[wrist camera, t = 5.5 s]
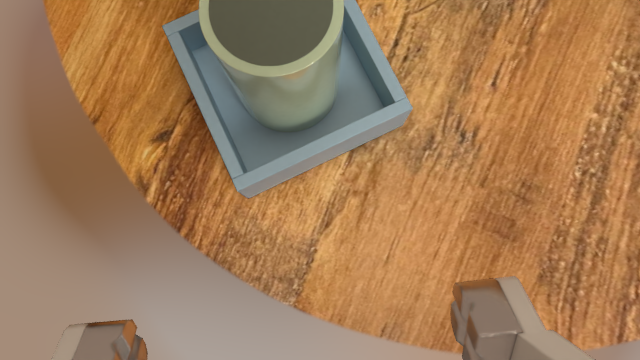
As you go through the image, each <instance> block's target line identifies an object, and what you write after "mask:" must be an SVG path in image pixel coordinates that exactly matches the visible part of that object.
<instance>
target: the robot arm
mask: <svg viewBox="0 0 640 360" xmlns="http://www.w3.org/2000/svg"><path fill="white" fill-rule="evenodd" d="M453 295H454V298H455V301H454V302H453V303H452V304H451V311H450V314H451V324H452V328H453V332H454V335H455V338H456V341H457V342H459V343H460V344H461V345H462V346H463V353H462V358H463V360H595V359H594V358H592V357H591V356H590V355H588V354H587V353H585V352H584V351H582V350H581V349H580V348H578V347H577V346H575V345H574V344H572V343H571V342H569V341H568V340H567V339H565V338H564V337H562V336H561V335H559V334H558V333H557V332H555V331H554V330H546V328H545V326H544V325H543V323H542V321H541V319H540V317H539V315H538V314H537V312H536V310H535V308H534V306H533V304H532V303H531V301H530V299H529V297H528V295H527V294H526V292H525V290H524V288H523V286H522V284H521V283H520V281H519V279H518V278H517V277H515V276H511V277H502V278H495V279H494V278H490V279H482V280H474V281H466V282H458V283H455V284H454V286H453ZM136 329H137V327H136V325H135V323H134V321H133V320H119V321H108V322H97V323H96V322H95V323H85V324H75V325H69V326H68V327H67V328H66V329H65V331H64V332H63V334H62V337H61V339H60V341H59V344H58V346H57V348H56V350H55V353H54V355H53V357H52V360H147V348H146V344H145V342H144V340H143V338H141V337H139V336H138V335H136V334H135V333H136Z"/></svg>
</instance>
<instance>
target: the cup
mask: <svg viewBox="0 0 640 360" xmlns="http://www.w3.org/2000/svg"><path fill="white" fill-rule="evenodd" d="M198 12H199V22H200V26H201V30H202V33H203V35H204V38H205V40H206V41H207V43H208V45H209V47H210V48H211V50H212V52H213V54H214V55H215V57H216V59H217V61H218V62H219V64H220V66H221V68H222V69H223V71H224V73H225V74H226V76H227V78H228V80H229V81H230V83H231V85H232V87H233V88H234V90H235V92H236V93H237V95H238V97H239V99H240V100H241V102H242V104H243V106H244V107H245V109H246V111H247V112H248V113H249V115H250V116H251V117H252V118H253V119H254V120H255V121H257V122H258V123H259V124H261V125H263V126H264V127H266V128H269V129H271V130H275V131H279V132H297V131H301V130H305V129H308V128H310V127H312V126H314V125H316V124H317V123H319V122H320V121H321V120H322V119H324V118H325V117H326V116H327V114H328V113H329V112H330V111H331V109H332V107H333V106H334V104H335V102H336V99H337V96H338V92H339V83H340V67H341V51H342V35H343V20H344V0H199V11H198Z"/></svg>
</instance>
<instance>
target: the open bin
mask: <svg viewBox="0 0 640 360" xmlns="http://www.w3.org/2000/svg"><path fill="white" fill-rule="evenodd" d="M198 11H199V9H198V10H196V11H194V12H191V13H189V14H187V15H185V16H183V17H180V18H178V19H176V20H174V21H171V22H169V23H167V24H165V25H163V26H162V27H163V30H164V32H165V34H166V36H167V38H168V40H169V43H170V45H171V47H172V49H173V51H174V54H175V56H176V58H177V60H178V62H179V65H180V67H181V69H182V71H183V73H184V76H185V78H186V80H187V82H188V84H189V87H190V89H191V91H192V93H193V95H194V97H195V100H196V102H197V104H198V106H199V108H200V111H201V113H202V115H203V117H204V119H205V122H206V124H207V126H208V128H209V130H210V133H211V135H212V137H213V139H214V141H215V144H216V146H217V148H218V150H219V152H220V155H221V157H222V159H223V161H224V163H225V166H226V168H227V170H228V172H229V174H230V176H231V179H232V181H233V183H234V185H235V188H236V190H237V191H238V192H239V193H241V194H242V195H244V196H245V197H247V198H251V197H253V196H255V195H257V194H259V193H261V192H263V191H265V190H268V189H270V188H272V187H274V186H276V185H278V184H280V183H282V182H284V181H286V180H289V179H291V178H293V177H295V176H297V175H299V174H301V173H303V172H305V171H308V170H310V169H312V168H314V167H316V166H318V165H320V164H322V163H324V162H326V161H329V160H331V159H333V158H335V157H337V156H339V155H341V154H343V153H345V152H347V151H350V150H352V149H354V148H356V147H358V146H360V145H362V144H364V143H366V142H369V141H371V140H373V139H375V138H377V137H379V136H381V135H383V134H385V133H387V132H390V131H392V130H394V129H396V128H398V127H400V126H402V125H403V124H404V122H405V121H406V119H407V117H408V115H409V114H410V112H411V110H412V109H413V108H412V106H411V104H410V102H409V100H408V98H407V97H406V95H405V93H404V91H403V89H402V87H401V85H400V83H399V81H398V80H397V78H396V76H395V74H394V72H393V70H392V68H391V66H390V65H389V63H388V61H387V59H386V57H385V55H384V53H383V51H382V49H381V48H380V46H379V44H378V42H377V40H376V38H375V36H374V34H373V33H372V31H371V29H370V27H369V25H368V23H367V21H366V19H365V18H364V16H363V14H362V12H361V10H360V8H359V6H358V4H357V2H356V1H355V0H344V20H343V35H342V51H341V67H340V83H339V92H338V96H337V99H336V102H335V104H334V106H333V107H332V109H331V111H330V112H329V113H328V114H327V116H326V117H325V118H324V119H322V120H321V121H320V122H319V123H317V124H316V125H314V126H312V127H310V128H308V129H305V130H301V131H297V132H279V131H275V130H271V129H269V128H266V127H264V126H263V125H261V124H259V123H258V122H257V121H255V120H254V119H253V118H252V117H251V116H250V115H249V113H248V112H247V111H246V109H245V107H244V106H243V104H242V102H241V100H240V99H239V97H238V95H237V93H236V92H235V90H234V88H233V87H232V85H231V83H230V81H229V80H228V78H227V76H226V74H225V73H224V71H223V69H222V68H221V66H220V64H219V62H218V61H217V59H216V57H215V55H214V54H213V52H212V50H211V48H210V47H209V45H208V43H207V41H206V40H205V38H204V35H203V33H202V30H201V26H200V22H199V12H198Z"/></svg>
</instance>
